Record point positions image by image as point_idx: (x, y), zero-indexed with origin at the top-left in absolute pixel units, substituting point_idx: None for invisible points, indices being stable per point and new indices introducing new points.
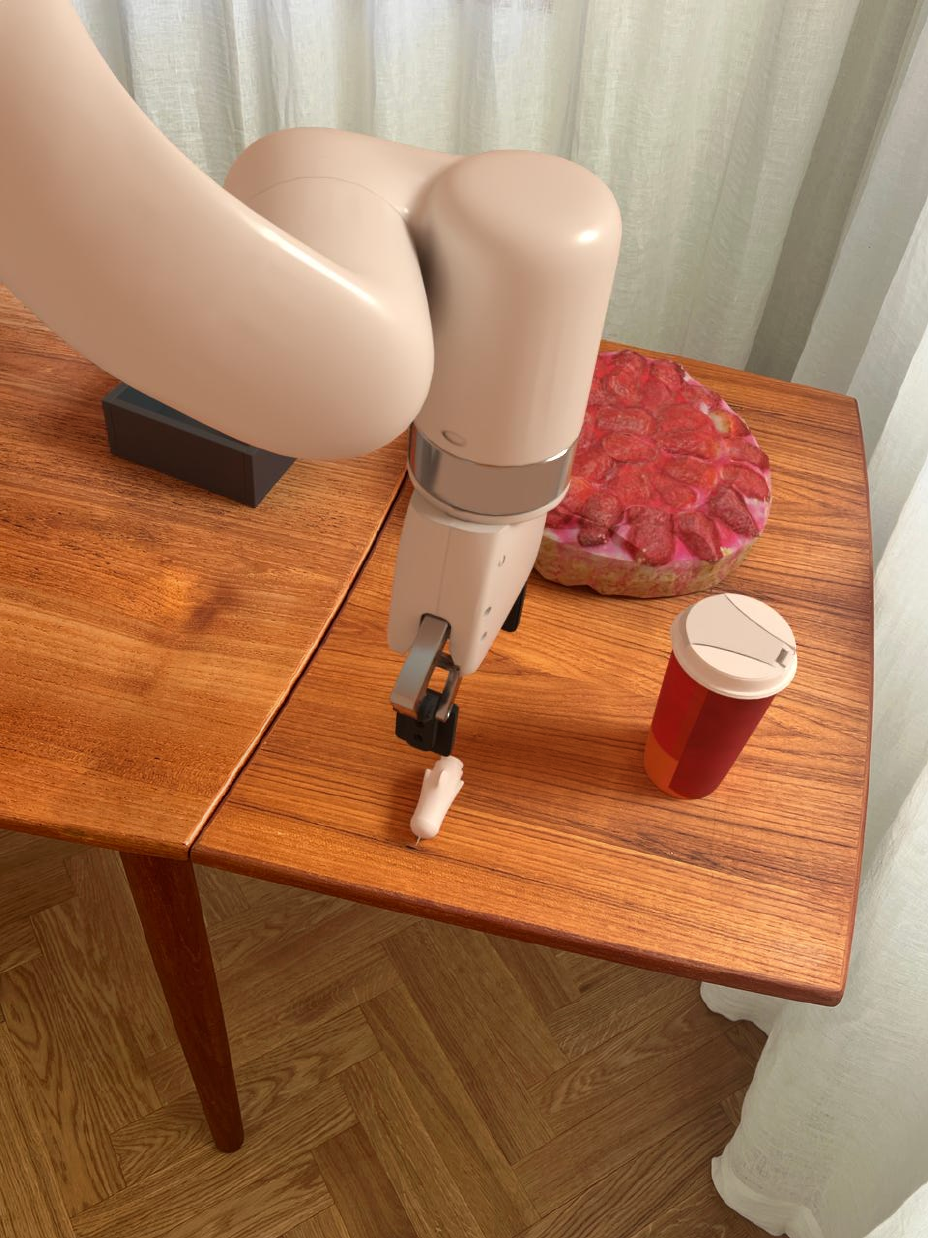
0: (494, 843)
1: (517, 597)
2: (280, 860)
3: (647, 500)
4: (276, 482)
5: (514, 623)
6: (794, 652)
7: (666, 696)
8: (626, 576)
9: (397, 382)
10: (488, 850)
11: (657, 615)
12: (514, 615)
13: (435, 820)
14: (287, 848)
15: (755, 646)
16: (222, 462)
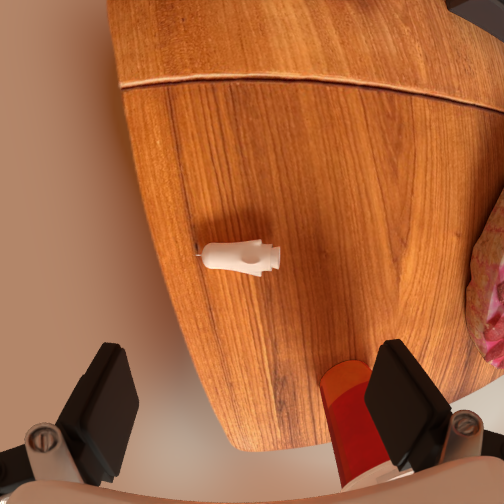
0: (231, 302)
1: (389, 453)
2: (136, 156)
3: None
4: (472, 22)
5: (370, 414)
6: None
7: (360, 426)
8: (477, 312)
9: None
10: (224, 301)
11: (454, 323)
12: (375, 425)
13: (215, 267)
14: (148, 155)
15: None
16: None
